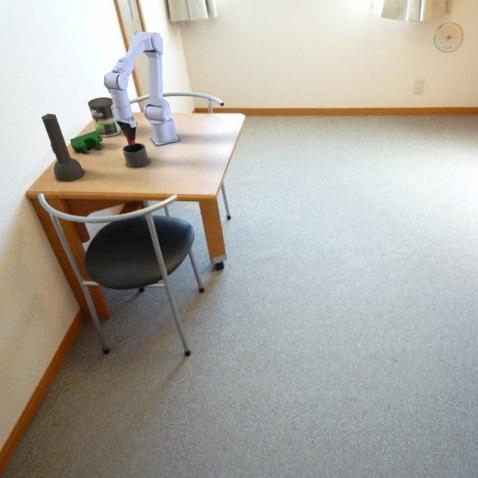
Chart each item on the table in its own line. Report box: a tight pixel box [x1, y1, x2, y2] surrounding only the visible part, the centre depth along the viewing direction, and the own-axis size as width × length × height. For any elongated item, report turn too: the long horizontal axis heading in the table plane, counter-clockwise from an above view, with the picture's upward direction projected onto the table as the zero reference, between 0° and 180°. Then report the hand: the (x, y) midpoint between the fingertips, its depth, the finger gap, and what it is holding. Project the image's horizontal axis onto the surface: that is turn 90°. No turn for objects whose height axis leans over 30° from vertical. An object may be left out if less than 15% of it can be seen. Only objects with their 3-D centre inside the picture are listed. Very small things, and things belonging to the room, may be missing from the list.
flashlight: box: [41, 113, 84, 182], centre depth 181 cm, size 10×25×10 cm
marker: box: [123, 123, 137, 145], centre depth 188 cm, size 3×3×8 cm
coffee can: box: [87, 96, 122, 138], centre depth 214 cm, size 10×10×14 cm
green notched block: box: [69, 130, 103, 155], centre depth 203 cm, size 12×6×9 cm, turn 130°
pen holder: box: [122, 142, 149, 169], centre depth 194 cm, size 8×8×6 cm
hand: (130, 138), depth 190 cm, fingers closed on marker, 3 cm apart
